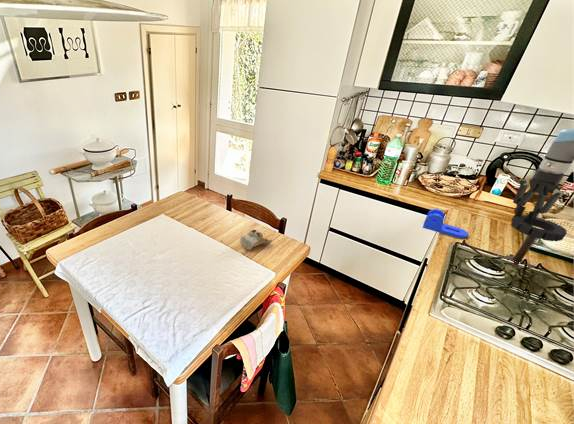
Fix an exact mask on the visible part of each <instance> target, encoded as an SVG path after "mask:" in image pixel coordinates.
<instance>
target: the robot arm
mask: <svg viewBox="0 0 574 424" xmlns="http://www.w3.org/2000/svg"><path fill="white" fill-rule="evenodd" d="M573 162H574V129H573V128H571V129H570V128H566V129H562V130H560V131H559V132H558V134H557V135H556V137H555V138H554V140H553V141H552V143H551V145H550V146H549V149H548V151H547V152H546V154H545V156H543V159H542V161H541V162H540V164H539V166H538V168H537V169H536V170H535V172H534V174H533V176H532V178H530V179H529V180H527V179H523V180H520V181H519V187H518V189H517V191H516V194H515V196H514V198H513V200H512V203H513V204H515V205H516V207H515V209H514V210H513V213H514V215H513V216H512V218H511V222H512V221H513V219H514V217H515V216H519V215H522V214H523V213H524V212H525V210H526V208H527V207H526V204H527V203H529V201H530V200H531V199H532V198H533V196H534V195H535V194H537V199H536V202H535V205H534V207H533V210H531V211H529V212H528V213H527V215H526V216H527V217H526V219H525V220H524V222H526V223H527V224H529V223H530V222H531V220H534V219H536V217H538V216H539V214H540V215H541V214H547V213H548V212H549V211H550V210H551V208H552V207H553V206H554V204H556V202H557V201H558V199H560V197H562V196H564V195H565V192H564V191H560V190H559V187H558V186H559V184H560V183H561V182H562V180H563V179H564V177H565V173H567V172H568V170H570V168H571V166H572V164H573ZM528 186H529V187H530V188H529V189H528ZM527 189H528V190H527ZM526 191H527V192H526ZM549 193H551V196H550V197H549V198H548V196H549ZM547 198H548V199H547ZM546 200H547V201H546ZM522 216H523V215H522Z"/></svg>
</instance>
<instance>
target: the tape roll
mask: <svg viewBox="0 0 574 424" xmlns="http://www.w3.org/2000/svg"><path fill="white" fill-rule="evenodd" d="M513 217H514V216H513ZM526 217H527V215H526V214H525V215H524V214H523V215H519V216H515V217H514V219H513V221H511V223H510V226H511V227H512V228H513V229H514V230H515V231H518V232H519V233H522V234H524V235H525V236H528V235H529V236H531V237H534V238H536V239H538V240H542V241H547V242H548V241H549V242H559V241H563V240H564V238H565V237H566V235H567V231H568V230H567V229H566V228H564V227H563V226H561V225H560V224H558V223H556V222H553V221H550V220H547V219H545V218H541V217H538V216H537V217H536V219H534V220H531V222H530V223H529V224H527V223H526V222H524V220H525V219H526Z"/></svg>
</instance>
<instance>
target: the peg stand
mask: <svg viewBox="0 0 574 424" xmlns="http://www.w3.org/2000/svg"><path fill="white" fill-rule="evenodd" d="M536 240H537V238H534V237H531V236H529V235H526V237H525V239H524V241H523V242H522V244H521V245H520V247H519V248H518V250H517V251H516V253H514V254H515V255H513V254H510V255H505V256H504V255H503V256H500V257H501V258H505V259H509V260H511V261H513V260H514V261H513V262H514V263H507V264H508V265H509V266H512V267H513V268H514V269H517V270H518V271H520V270H522V269H521V268H520V266H519V265H518V264H519V262H520V263H522V262H523V261H524V258H525V256H526V255H527V253H528V252H529V250H530V249H531V248H532V246H533V244H534V242H535V241H536ZM515 261H516V262H515ZM527 266H528V268H527V269H529V268H533V267H534V265H532V264H530V263H528V262H527Z"/></svg>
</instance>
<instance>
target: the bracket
mask: <svg viewBox="0 0 574 424" xmlns="http://www.w3.org/2000/svg"><path fill="white" fill-rule="evenodd" d="M445 217H446V216H445V213H444V211H443V210H441V209H440V208H433V209H430V210H429V211H428V212H427V214H426V217H425V220H424V222H423V225H422V229H425V230H429V231H433V232H435V233H439V234H443V235H446V236H450V237H453V238H456V239H467V238H468V235H469V233H468V231H466V230H465V229H463V228H460V227H458V226H453V225H449V224H446V223H444V219H445Z"/></svg>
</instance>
